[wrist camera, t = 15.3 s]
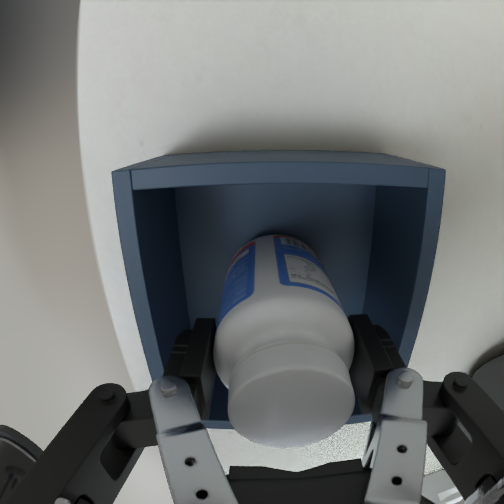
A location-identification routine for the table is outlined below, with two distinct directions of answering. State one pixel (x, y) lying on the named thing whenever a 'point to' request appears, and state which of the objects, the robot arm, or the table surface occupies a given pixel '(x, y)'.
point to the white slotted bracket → (440, 488)
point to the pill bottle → (283, 345)
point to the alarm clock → (490, 383)
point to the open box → (276, 223)
